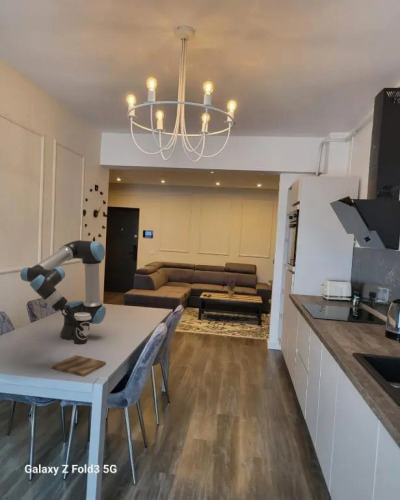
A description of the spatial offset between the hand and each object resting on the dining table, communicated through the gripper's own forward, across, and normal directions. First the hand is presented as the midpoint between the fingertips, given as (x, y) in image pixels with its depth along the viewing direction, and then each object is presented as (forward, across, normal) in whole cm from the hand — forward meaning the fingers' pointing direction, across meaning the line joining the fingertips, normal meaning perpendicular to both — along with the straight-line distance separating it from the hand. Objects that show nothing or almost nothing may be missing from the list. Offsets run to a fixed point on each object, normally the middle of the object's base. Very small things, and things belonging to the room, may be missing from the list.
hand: (87, 332), depth 183 cm
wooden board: (+11, 0, -15) cm, 19 cm away
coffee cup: (+2, 0, -7) cm, 7 cm away
